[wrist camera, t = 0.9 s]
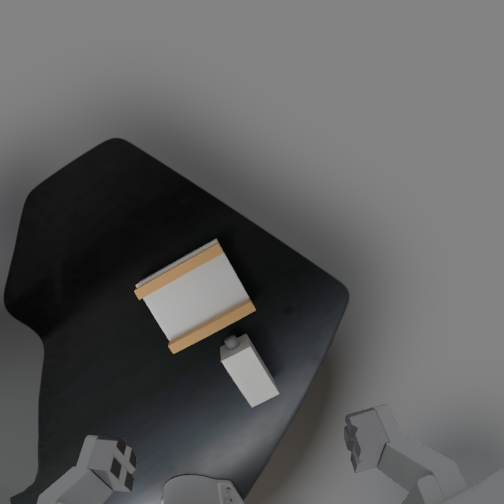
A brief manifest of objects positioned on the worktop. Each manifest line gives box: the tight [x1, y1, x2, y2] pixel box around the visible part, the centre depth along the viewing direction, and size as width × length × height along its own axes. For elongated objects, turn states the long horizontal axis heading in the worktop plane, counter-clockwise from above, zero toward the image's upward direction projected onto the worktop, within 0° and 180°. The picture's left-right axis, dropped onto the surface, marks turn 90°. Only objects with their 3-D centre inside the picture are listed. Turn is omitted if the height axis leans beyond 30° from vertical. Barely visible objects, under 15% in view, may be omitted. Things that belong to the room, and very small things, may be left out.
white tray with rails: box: [134, 238, 256, 354], centre depth 47 cm, size 12×14×6 cm
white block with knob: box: [220, 334, 279, 407], centre depth 49 cm, size 12×5×6 cm, turn 28°
